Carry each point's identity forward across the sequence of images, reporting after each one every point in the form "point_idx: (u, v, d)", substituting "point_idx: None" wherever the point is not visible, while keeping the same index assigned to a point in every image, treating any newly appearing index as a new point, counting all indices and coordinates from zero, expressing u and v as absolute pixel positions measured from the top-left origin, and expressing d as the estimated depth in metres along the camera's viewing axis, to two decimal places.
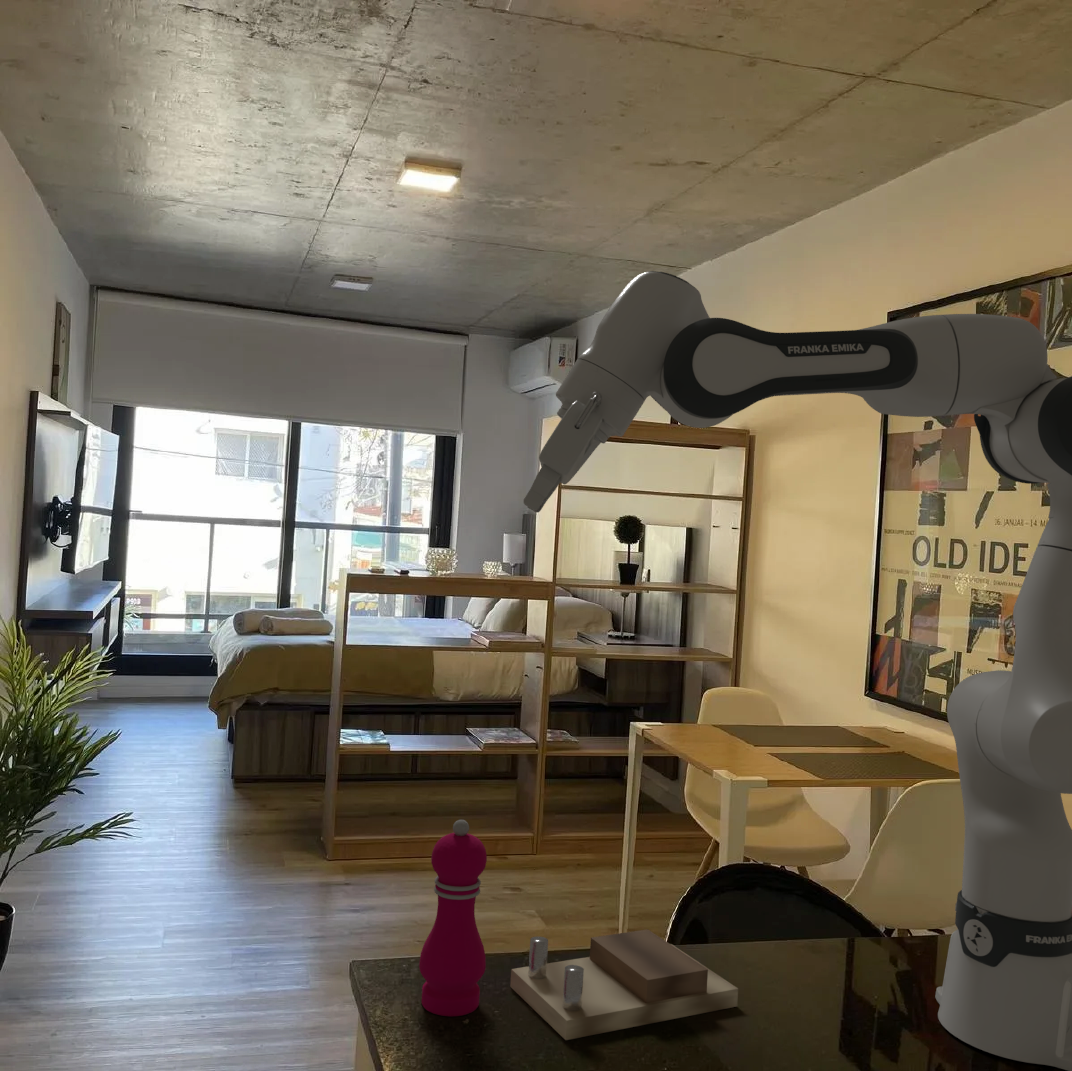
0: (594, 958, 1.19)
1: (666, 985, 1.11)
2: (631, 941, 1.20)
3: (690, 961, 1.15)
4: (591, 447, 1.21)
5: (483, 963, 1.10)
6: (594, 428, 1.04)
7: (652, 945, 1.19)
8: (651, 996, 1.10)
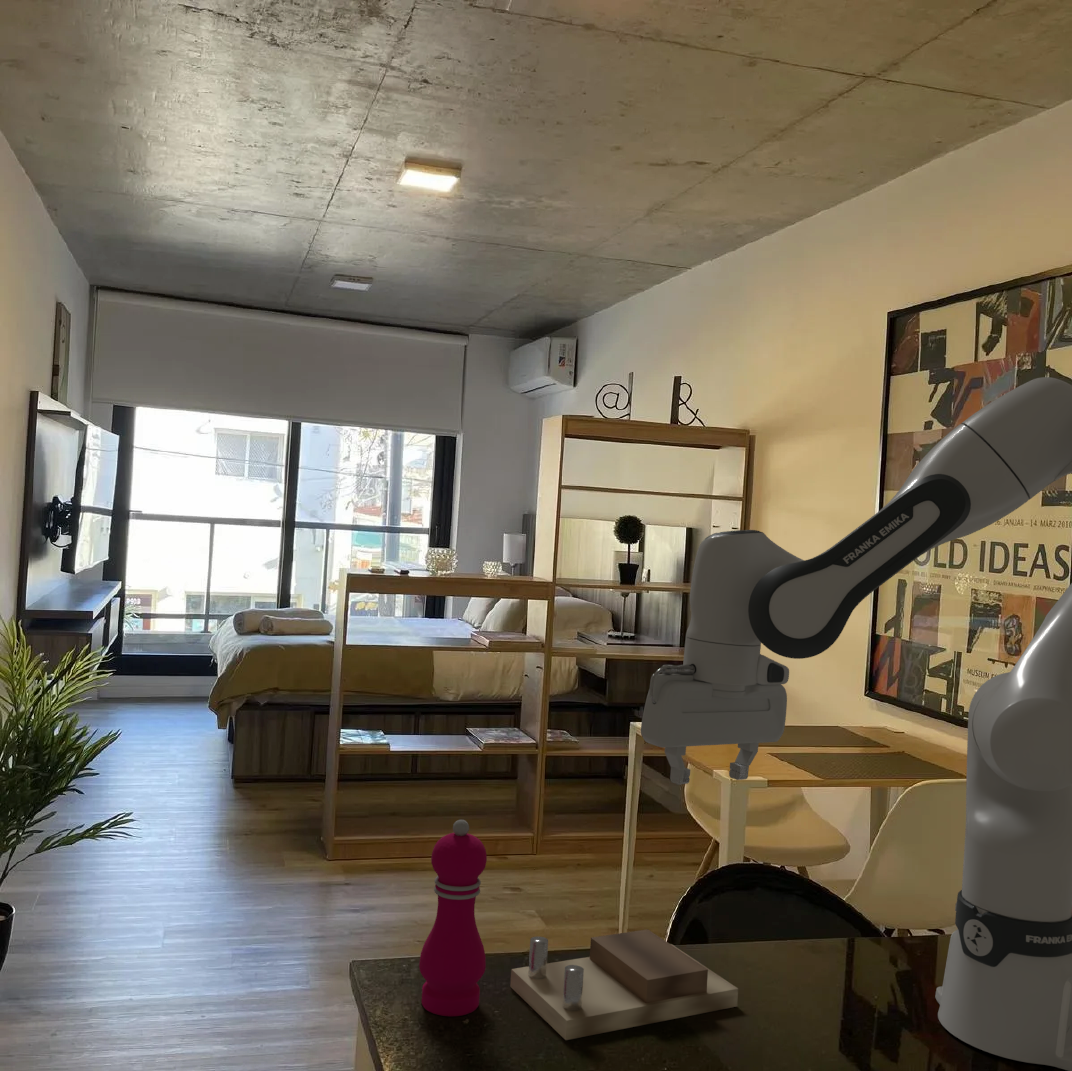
0: (594, 958, 1.19)
1: (666, 985, 1.11)
2: (631, 941, 1.20)
3: (690, 961, 1.15)
4: (774, 699, 1.24)
5: (483, 963, 1.10)
6: (666, 697, 1.15)
7: (652, 945, 1.19)
8: (651, 996, 1.10)
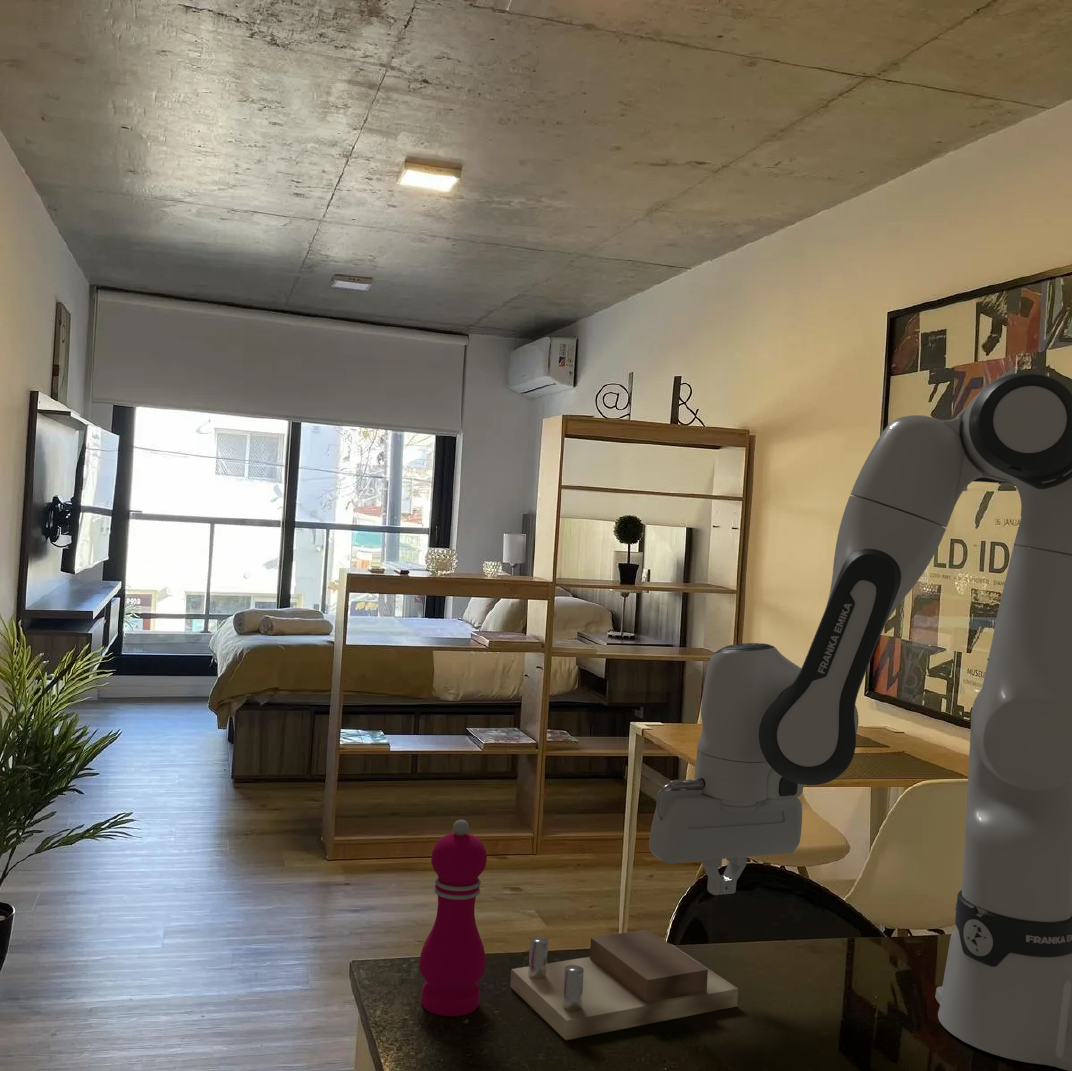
0: (594, 958, 1.19)
1: (666, 985, 1.11)
2: (631, 941, 1.20)
3: (690, 961, 1.15)
4: (789, 811, 1.24)
5: (483, 963, 1.10)
6: (672, 814, 1.16)
7: (652, 945, 1.19)
8: (651, 996, 1.10)
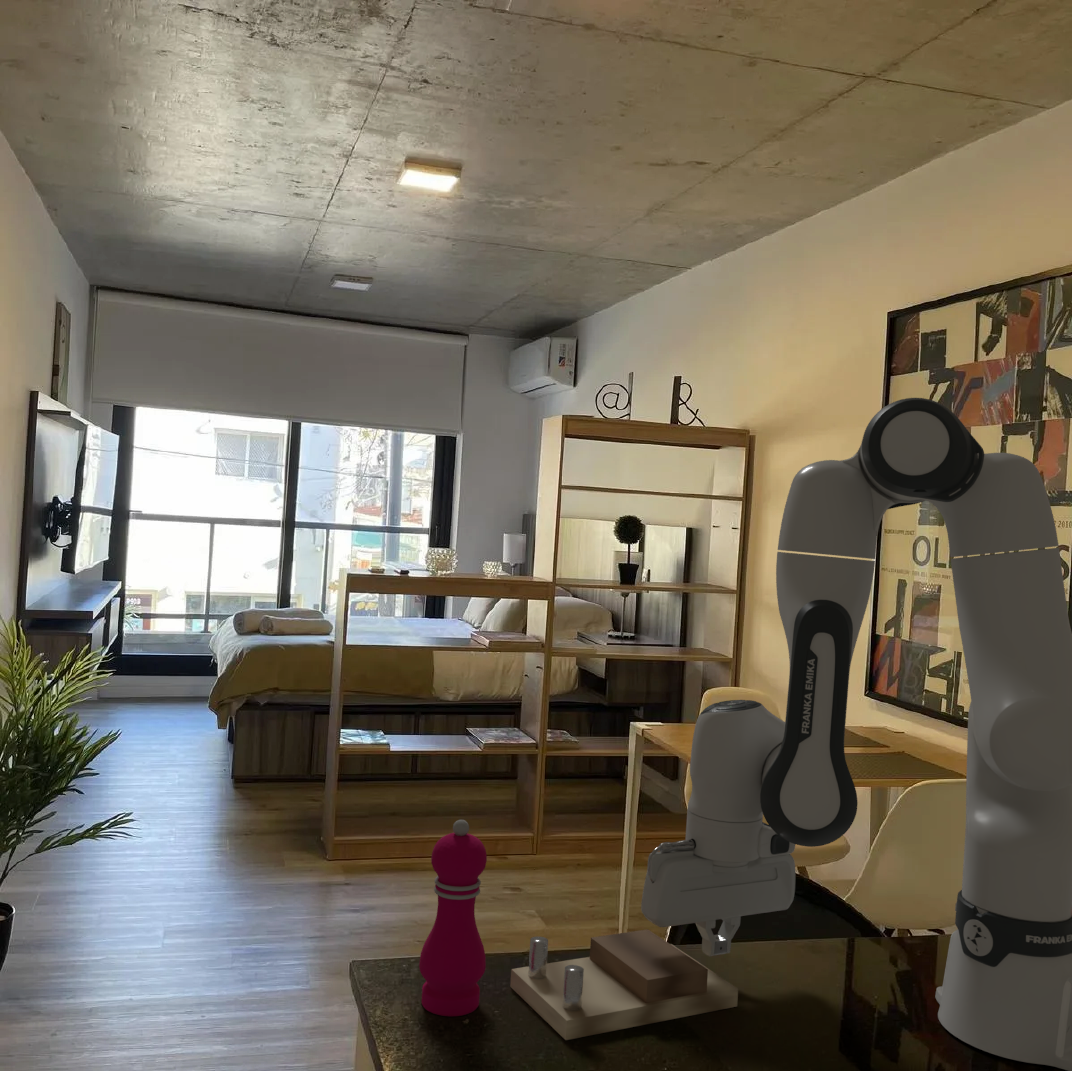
0: (594, 958, 1.19)
1: (666, 985, 1.11)
2: (631, 941, 1.20)
3: (690, 961, 1.15)
4: (781, 868, 1.23)
5: (483, 963, 1.10)
6: (663, 878, 1.16)
7: (652, 945, 1.19)
8: (651, 996, 1.10)
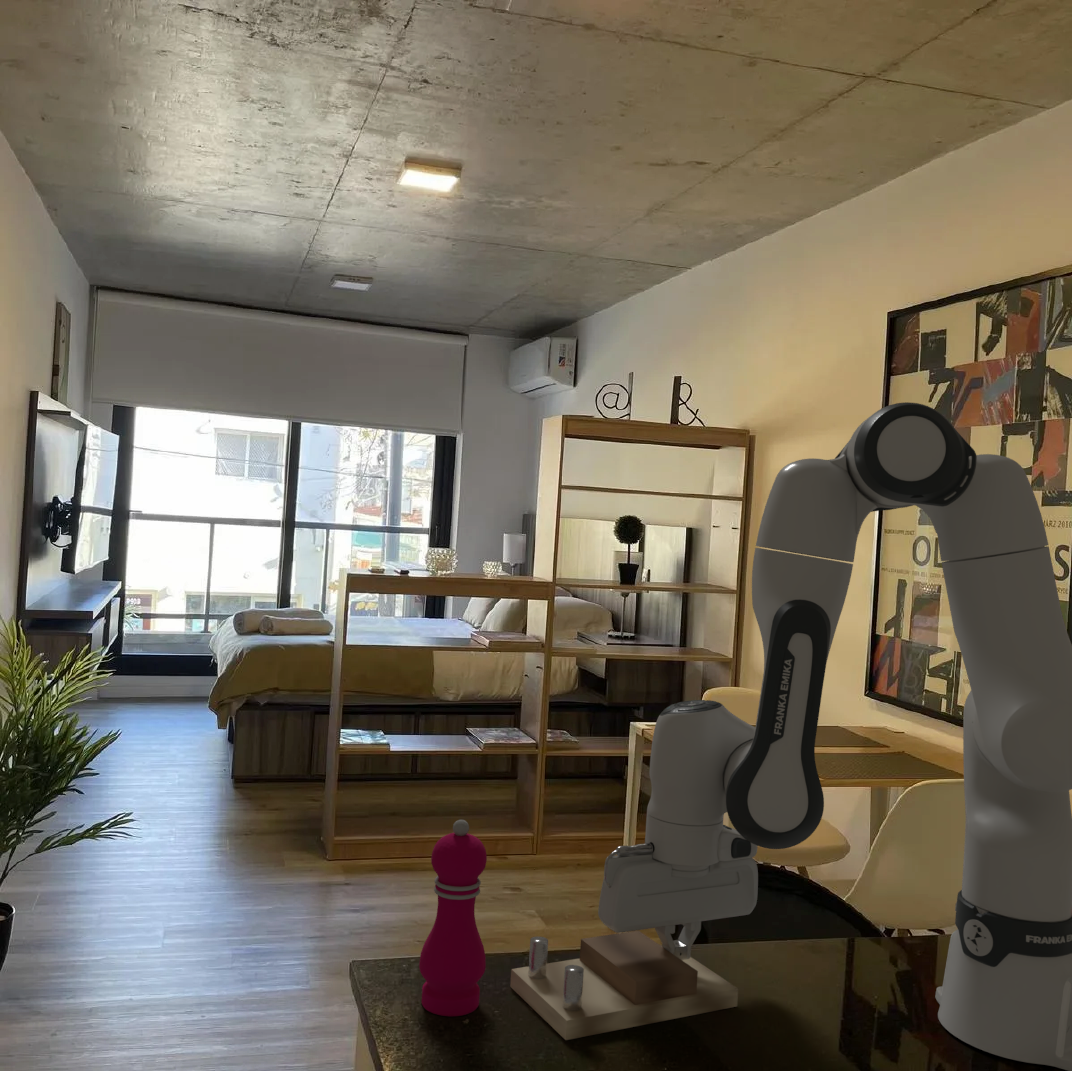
0: (584, 959, 1.19)
1: (655, 986, 1.10)
2: (621, 942, 1.19)
3: (680, 963, 1.14)
4: (743, 872, 1.20)
5: (483, 963, 1.10)
6: (619, 882, 1.13)
7: (643, 947, 1.18)
8: (640, 998, 1.09)
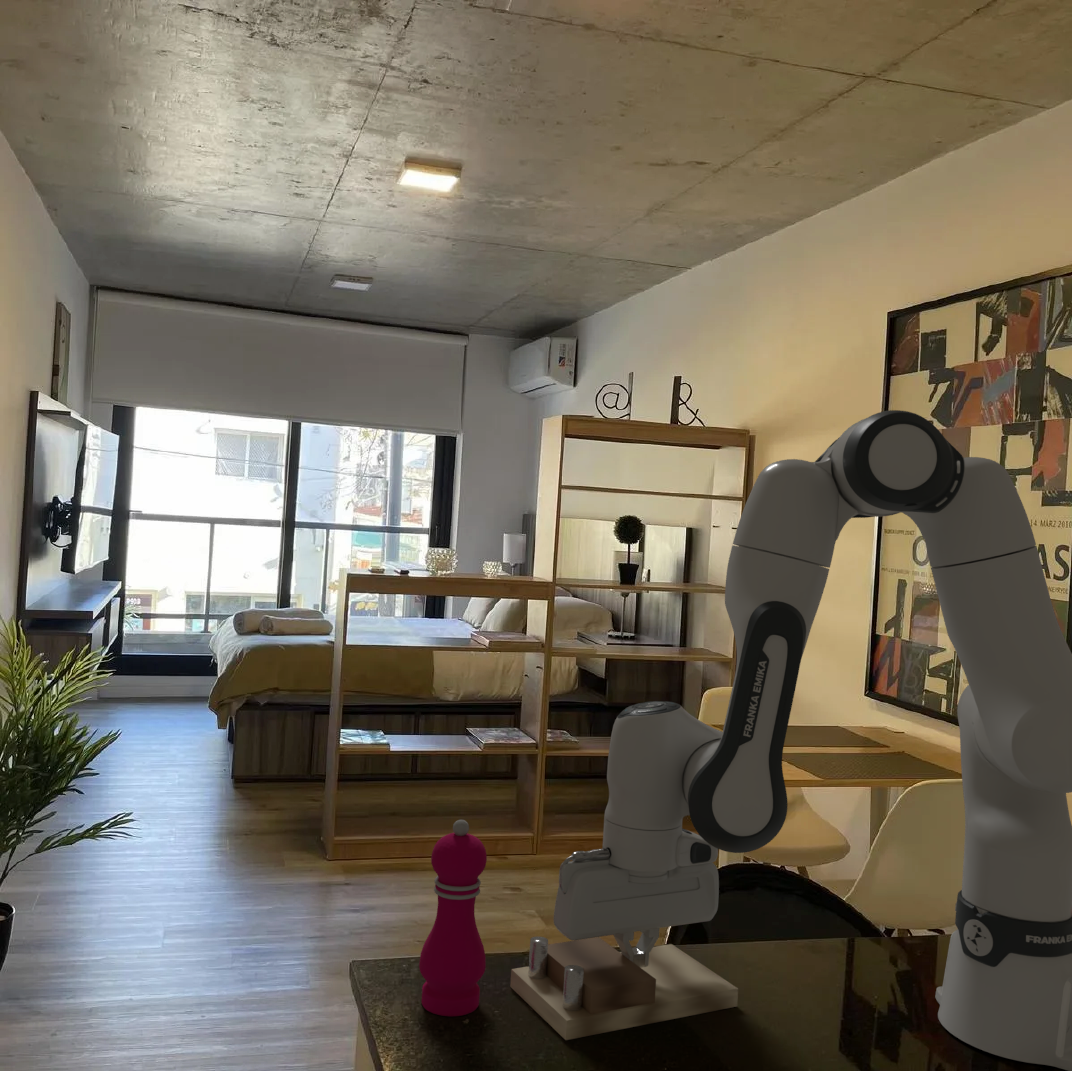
0: None
1: (611, 995, 1.07)
2: (579, 949, 1.16)
3: (638, 970, 1.12)
4: (704, 877, 1.18)
5: (483, 963, 1.10)
6: (574, 889, 1.10)
7: (601, 954, 1.16)
8: (596, 1007, 1.06)
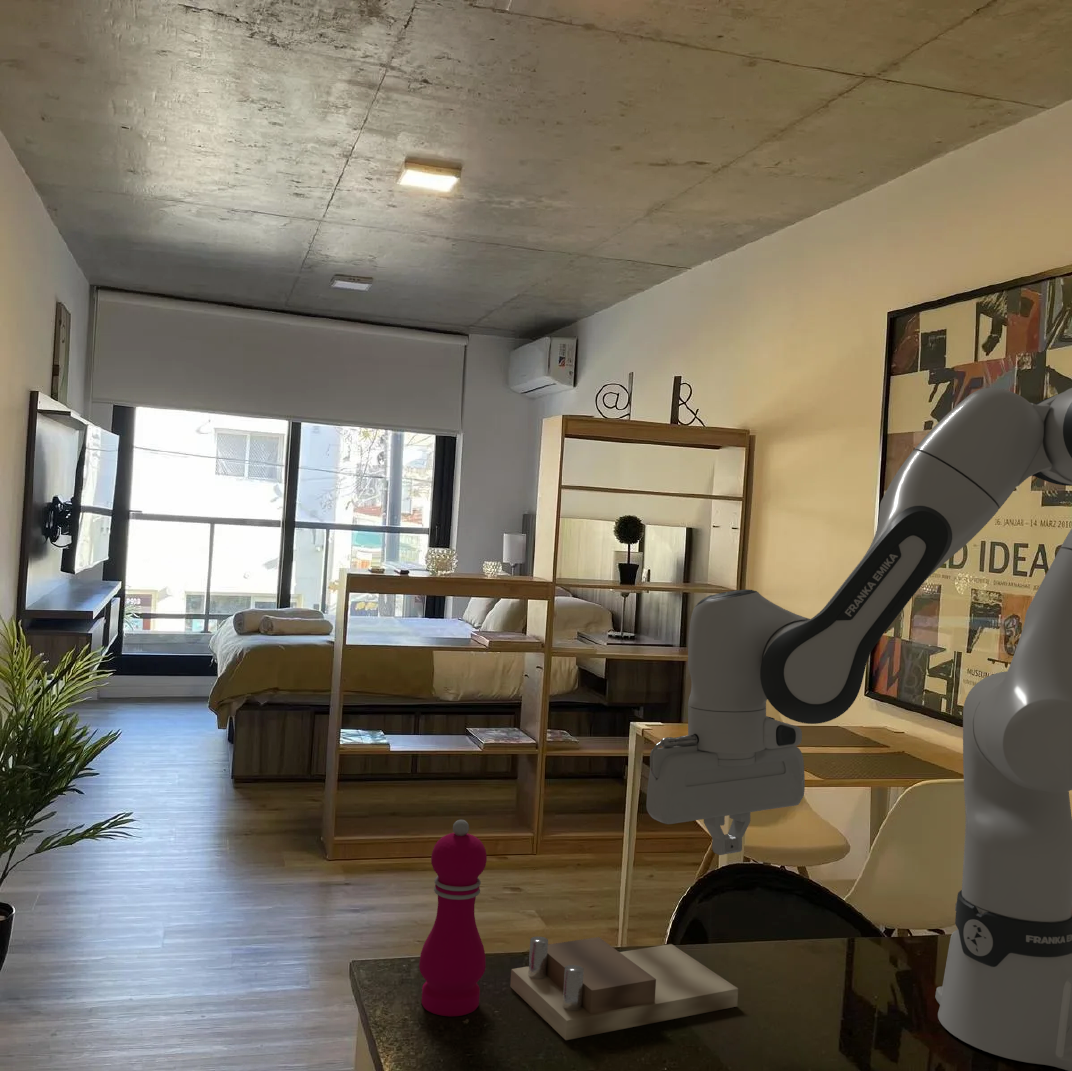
0: None
1: (611, 995, 1.07)
2: (579, 949, 1.16)
3: (638, 970, 1.12)
4: (789, 761, 1.19)
5: (483, 963, 1.10)
6: (666, 772, 1.12)
7: (601, 954, 1.16)
8: (596, 1007, 1.06)
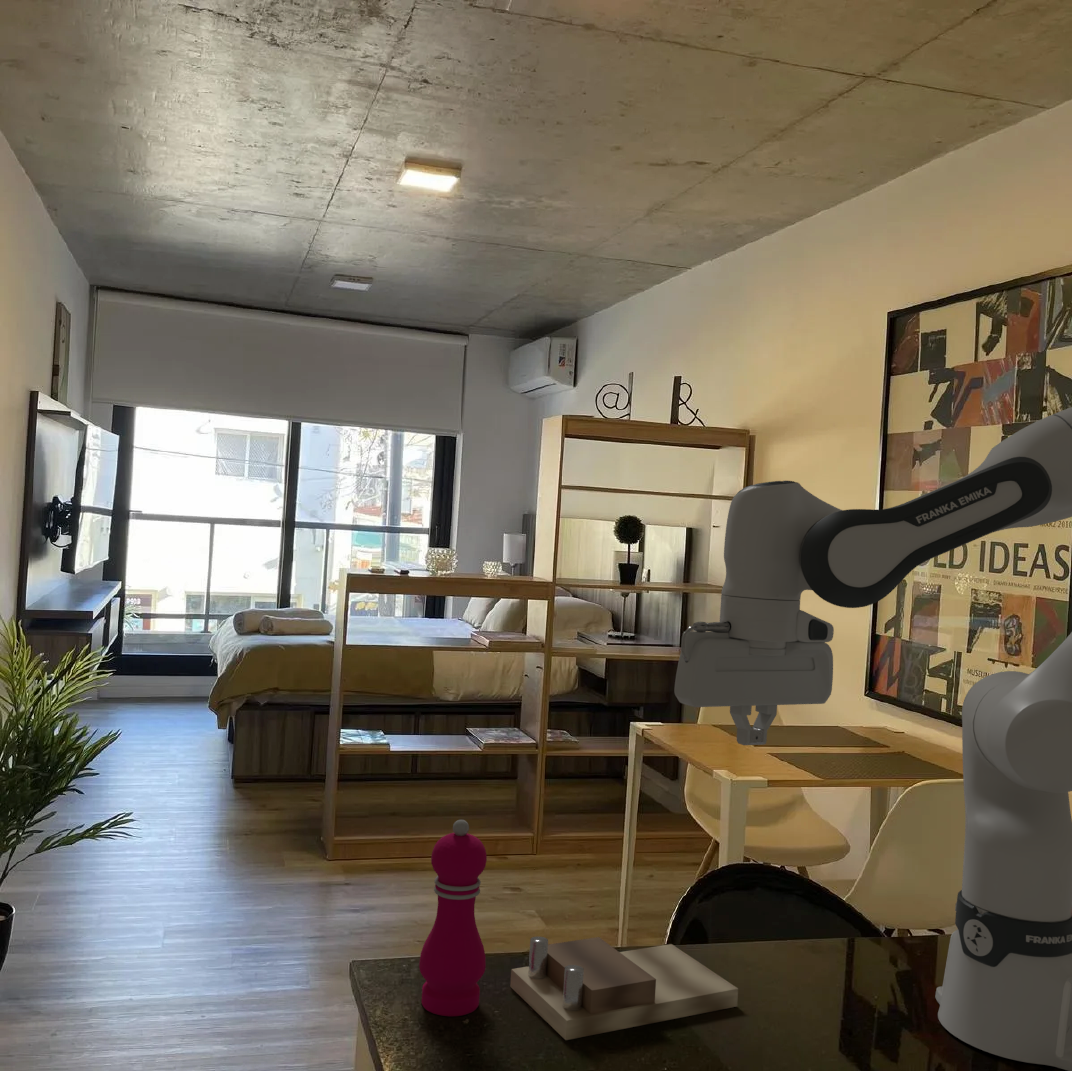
0: None
1: (611, 995, 1.07)
2: (579, 949, 1.16)
3: (638, 970, 1.12)
4: (819, 658, 1.18)
5: (483, 963, 1.10)
6: (698, 655, 1.11)
7: (601, 954, 1.16)
8: (596, 1007, 1.06)
